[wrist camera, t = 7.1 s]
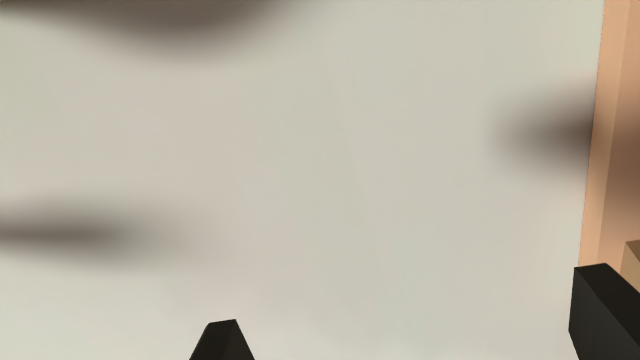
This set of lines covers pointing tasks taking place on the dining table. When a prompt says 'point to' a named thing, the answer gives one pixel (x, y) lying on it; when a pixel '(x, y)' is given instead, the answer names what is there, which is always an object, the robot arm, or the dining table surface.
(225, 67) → the dining table surface
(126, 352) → the dining table surface
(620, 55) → the display stand
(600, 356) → the robot arm
